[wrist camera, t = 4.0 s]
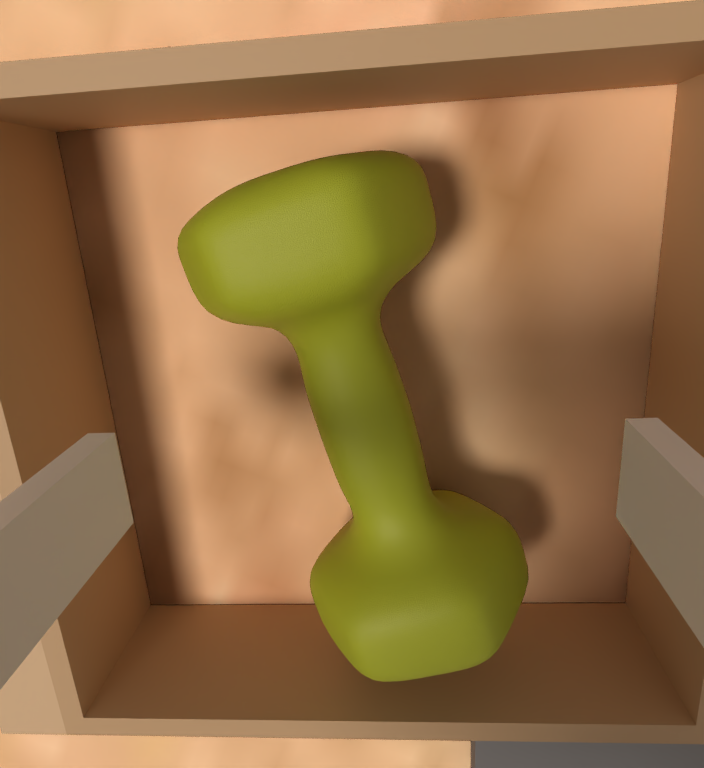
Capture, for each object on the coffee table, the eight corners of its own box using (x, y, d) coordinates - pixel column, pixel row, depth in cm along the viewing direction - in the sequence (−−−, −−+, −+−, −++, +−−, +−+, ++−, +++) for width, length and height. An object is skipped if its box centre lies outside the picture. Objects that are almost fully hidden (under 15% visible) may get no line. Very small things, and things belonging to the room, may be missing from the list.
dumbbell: (515, 542, 24) (564, 678, 17) (335, 581, 25) (314, 722, 18) (414, 139, 20) (425, 107, 13) (201, 209, 21) (108, 214, 14)
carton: (85, 619, 27) (2, 733, 21) (-38, 113, 20) (-208, 80, 14) (704, 618, 24) (798, 745, 19) (790, 47, 18) (976, -25, 12)
